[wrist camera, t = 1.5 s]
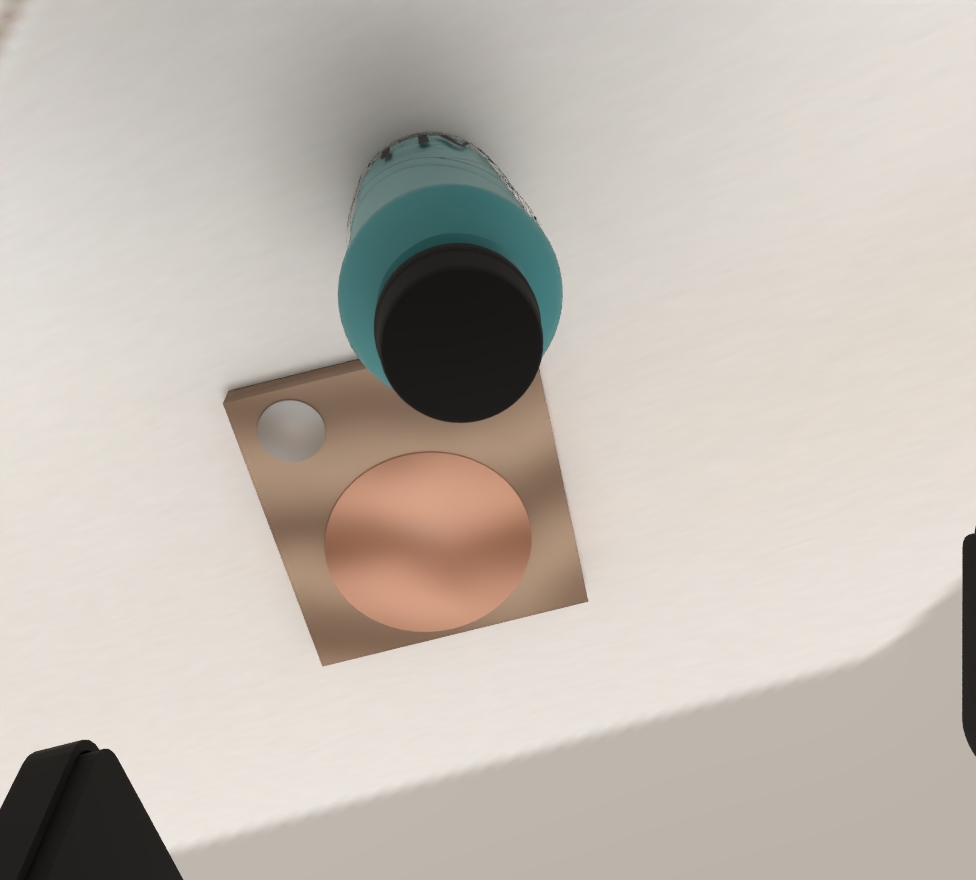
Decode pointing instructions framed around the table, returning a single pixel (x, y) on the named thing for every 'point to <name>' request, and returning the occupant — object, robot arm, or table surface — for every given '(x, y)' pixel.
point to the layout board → (405, 510)
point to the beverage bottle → (447, 281)
